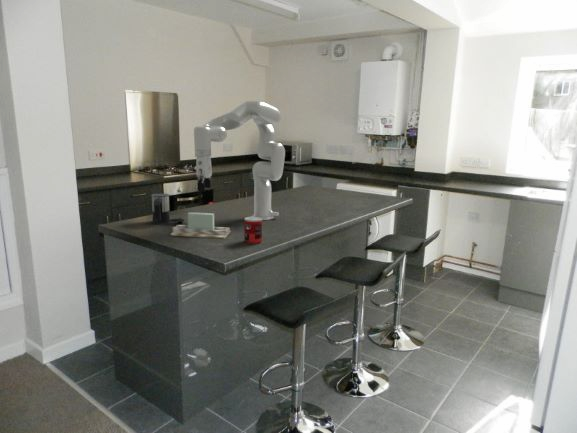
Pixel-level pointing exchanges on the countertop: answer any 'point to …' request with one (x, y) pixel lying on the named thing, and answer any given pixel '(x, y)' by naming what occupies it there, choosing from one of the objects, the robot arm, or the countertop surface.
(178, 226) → the door track
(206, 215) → the door panel
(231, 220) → the countertop surface
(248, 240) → the canned food
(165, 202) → the milk frother
